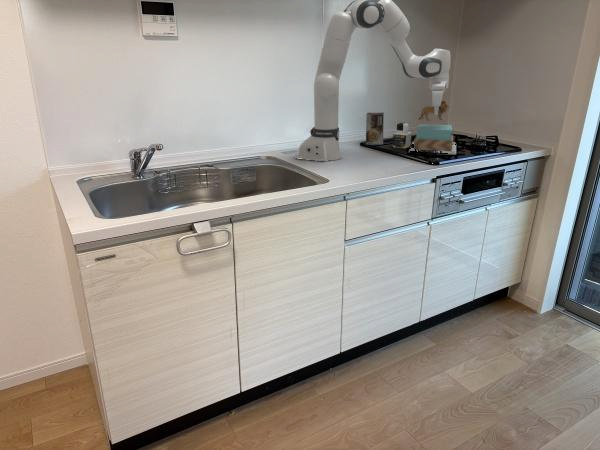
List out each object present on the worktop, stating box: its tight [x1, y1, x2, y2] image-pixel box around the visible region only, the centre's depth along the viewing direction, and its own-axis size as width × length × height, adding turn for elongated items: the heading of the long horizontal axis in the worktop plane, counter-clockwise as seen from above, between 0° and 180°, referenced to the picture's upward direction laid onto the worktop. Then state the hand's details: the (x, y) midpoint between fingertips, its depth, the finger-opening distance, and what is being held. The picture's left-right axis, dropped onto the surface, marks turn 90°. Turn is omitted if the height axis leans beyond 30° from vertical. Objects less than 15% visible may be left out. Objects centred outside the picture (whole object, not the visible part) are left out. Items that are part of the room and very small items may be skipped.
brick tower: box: [408, 124, 457, 155], centre depth 223 cm, size 22×22×11 cm
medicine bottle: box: [392, 122, 412, 149], centre depth 229 cm, size 7×7×12 cm
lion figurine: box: [418, 99, 450, 122], centre depth 218 cm, size 15×5×9 cm, turn 81°
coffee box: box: [365, 112, 385, 145], centre depth 237 cm, size 9×6×16 cm
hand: (436, 113), depth 218 cm, fingers closed on lion figurine, 4 cm apart
